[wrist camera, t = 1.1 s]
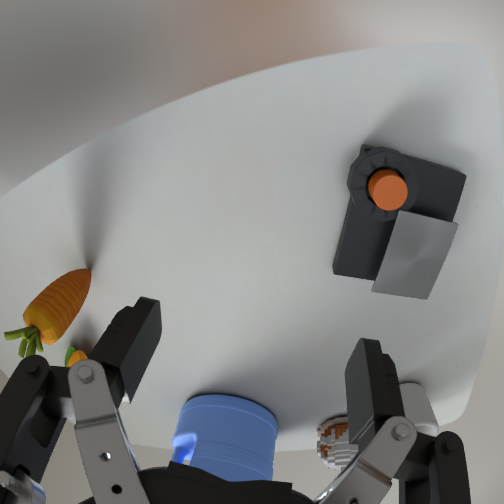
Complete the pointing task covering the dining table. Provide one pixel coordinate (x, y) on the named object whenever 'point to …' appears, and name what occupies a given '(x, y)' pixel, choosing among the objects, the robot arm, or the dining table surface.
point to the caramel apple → (335, 443)
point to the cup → (418, 408)
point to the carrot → (52, 311)
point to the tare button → (387, 189)
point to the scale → (381, 221)
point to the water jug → (226, 437)
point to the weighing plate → (414, 255)
